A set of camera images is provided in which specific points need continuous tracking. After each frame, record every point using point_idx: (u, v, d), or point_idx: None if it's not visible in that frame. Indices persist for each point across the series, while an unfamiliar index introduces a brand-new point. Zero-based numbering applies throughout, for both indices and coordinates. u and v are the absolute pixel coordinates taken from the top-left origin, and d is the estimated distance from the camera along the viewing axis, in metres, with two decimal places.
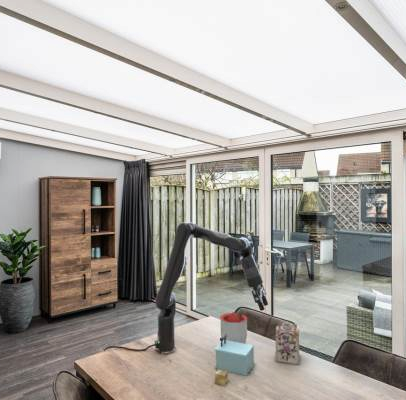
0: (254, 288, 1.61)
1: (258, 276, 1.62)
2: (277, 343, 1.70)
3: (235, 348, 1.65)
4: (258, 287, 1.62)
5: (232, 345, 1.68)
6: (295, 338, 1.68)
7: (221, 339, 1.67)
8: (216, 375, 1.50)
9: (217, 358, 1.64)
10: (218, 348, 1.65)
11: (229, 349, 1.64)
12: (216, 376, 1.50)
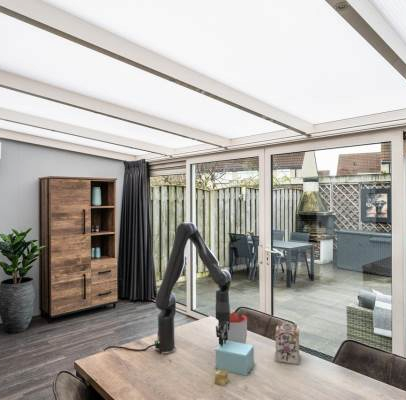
0: (219, 322, 1.66)
1: (227, 312, 1.66)
2: (277, 343, 1.70)
3: (235, 348, 1.65)
4: (224, 322, 1.68)
5: (232, 345, 1.68)
6: (295, 338, 1.68)
7: None
8: (216, 375, 1.50)
9: (217, 358, 1.64)
10: (218, 348, 1.65)
11: (229, 349, 1.64)
12: (216, 376, 1.50)
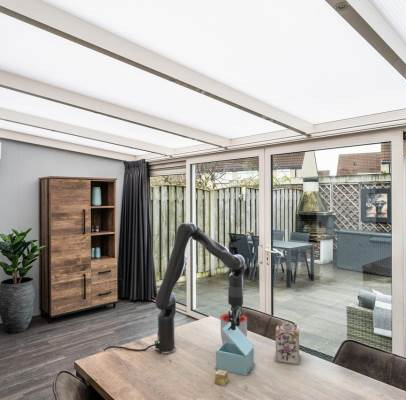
0: (232, 307, 1.63)
1: (240, 297, 1.63)
2: (277, 343, 1.70)
3: (239, 340, 1.64)
4: (236, 307, 1.65)
5: (237, 334, 1.67)
6: (295, 338, 1.68)
7: None
8: (216, 375, 1.50)
9: (217, 358, 1.64)
10: (225, 330, 1.63)
11: (234, 337, 1.63)
12: (216, 376, 1.50)
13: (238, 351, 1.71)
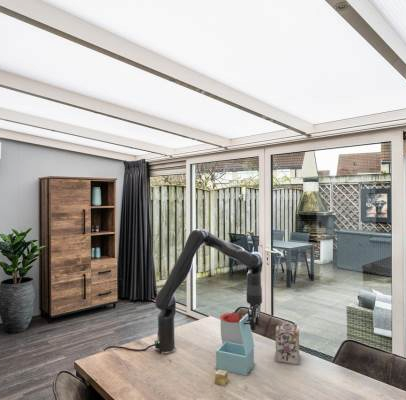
0: (251, 306, 1.59)
1: (259, 296, 1.59)
2: (277, 343, 1.70)
3: (247, 337, 1.62)
4: (255, 306, 1.60)
5: (247, 330, 1.65)
6: (295, 338, 1.68)
7: None
8: (216, 375, 1.50)
9: (217, 358, 1.64)
10: (241, 324, 1.59)
11: (244, 334, 1.60)
12: (216, 376, 1.50)
13: (238, 351, 1.71)
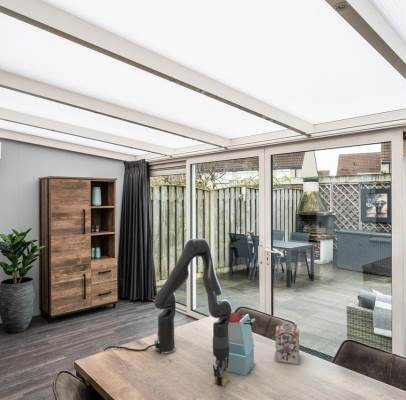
0: (217, 359, 1.49)
1: (225, 348, 1.49)
2: (277, 343, 1.70)
3: (247, 337, 1.62)
4: (222, 358, 1.50)
5: (248, 330, 1.65)
6: (295, 338, 1.68)
7: (251, 323, 1.60)
8: None
9: None
10: (242, 324, 1.59)
11: (245, 334, 1.60)
12: None
13: (238, 351, 1.71)
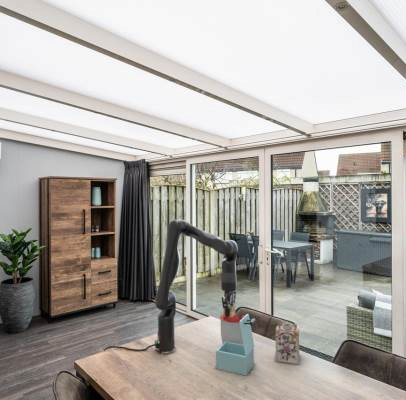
0: (225, 293, 1.61)
1: (233, 283, 1.61)
2: (277, 343, 1.70)
3: (247, 337, 1.62)
4: (230, 293, 1.63)
5: (248, 330, 1.65)
6: (295, 338, 1.68)
7: (251, 323, 1.60)
8: (224, 308, 1.63)
9: (217, 358, 1.64)
10: (242, 324, 1.59)
11: (245, 334, 1.60)
12: (224, 309, 1.63)
13: (238, 351, 1.71)
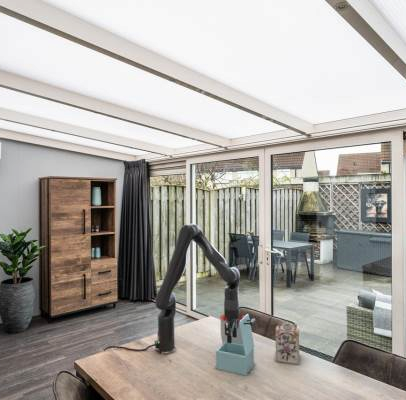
0: (228, 320, 1.64)
1: (236, 310, 1.64)
2: (277, 343, 1.70)
3: (247, 337, 1.62)
4: (232, 320, 1.66)
5: (248, 330, 1.65)
6: (295, 338, 1.68)
7: (251, 323, 1.60)
8: None
9: (217, 358, 1.64)
10: (242, 324, 1.59)
11: (245, 334, 1.60)
12: None
13: (238, 351, 1.71)
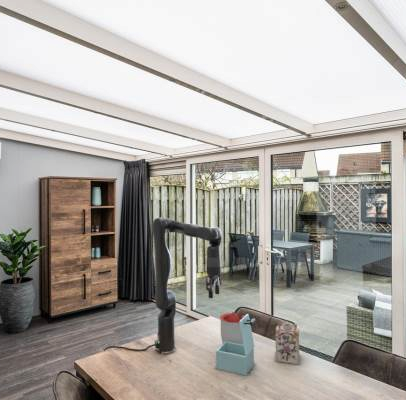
0: (210, 276, 1.70)
1: (217, 267, 1.70)
2: (277, 343, 1.70)
3: (247, 337, 1.62)
4: (214, 277, 1.71)
5: (248, 330, 1.65)
6: (295, 338, 1.68)
7: (251, 323, 1.60)
8: None
9: (217, 358, 1.64)
10: (242, 324, 1.59)
11: (245, 334, 1.60)
12: None
13: (238, 351, 1.71)
